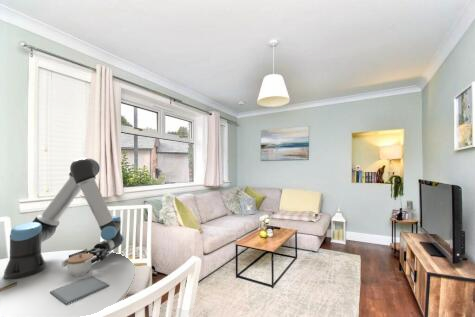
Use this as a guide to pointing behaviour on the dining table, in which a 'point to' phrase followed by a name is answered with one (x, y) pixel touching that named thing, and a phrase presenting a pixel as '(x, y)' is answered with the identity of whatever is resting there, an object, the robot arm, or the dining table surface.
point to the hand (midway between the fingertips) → (74, 264)
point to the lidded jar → (78, 264)
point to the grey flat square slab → (78, 289)
